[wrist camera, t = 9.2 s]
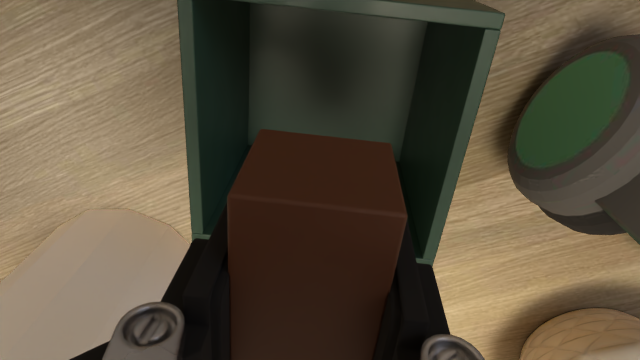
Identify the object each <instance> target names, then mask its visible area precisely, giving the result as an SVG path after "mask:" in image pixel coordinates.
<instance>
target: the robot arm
mask: <svg viewBox="0 0 640 360" xmlns="http://www.w3.org/2000/svg"><path fill="white" fill-rule="evenodd" d="M69 360H230V320H229V273H228V212H227V203H226V205H225V207H224V209H223V211H222V213H221V215H220V217H219V219H218V221H217V223H216V226H215V228H214V230H213V232H212V234H211V236H210V238H209V239H200V238H195V239H194V240H193V241H192V243H191V245H190V247H189V249H188V251H187V252H186V254H185V256H184V258H183V260H182V262H181V264H180V266H179V267H178V269H177V271H176V273H175V275H174V277H173V279H172V281H171V282H170V284H169V286H168V288H167V290H166V292H165V294H164V296H163V297H162V299H161V301H160V302H149V303H145V304H142V305H139V306H137V307H135V308H133V309H131V310H130V311H128V312H127V313H126V314H125V315H124V316H123V317H121V319H120V320H119V322H118V324H117V325H116V327H115V330H114V332H113V335H112V337H111V339H110V341H108V342H106V343H104V344H101V345H99V346H97V347H95V348H93V349H91V350H89V351H86V352H84V353H82V354H80V355H78V356H76V357H74V358H71V359H69ZM373 360H485V359H484V358H483V356H482V355H481V354H480V352H479V351H478V350H477V349H476V348H475V347H474V346H473V345H472V344H470V343H469V342H467V341H465V340H464V339H462V338H459V337H456V336H453V335H450V332H449V328H448V324H447V320H446V317H445V313H444V309H443V305H442V302H441V298H440V294H439V290H438V287H437V283H436V279H435V275H434V272H433V268H432V266H431V265H430V264H421V263H417V262H416V257H415V253H414V248H413V243H412V239H411V234H410V230H409V225H408V221H406V226H405V230H404V234H403V238H402V243H401V247H400V251H399V256H398V260H397V264H396V268H395V273H394V277H393V281H392V286H391V290H390V292H389V294H388V299H387V303H386V307H385V312H384V316H383V320H382V324H381V329H380V333H379V337H378V342H377V346H376V350H375V355H374V359H373Z"/></svg>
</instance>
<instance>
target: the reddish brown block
mask: <svg viewBox="0 0 640 360" xmlns="http://www.w3.org/2000/svg"><path fill="white" fill-rule="evenodd" d="M227 212H228V273H229V320H230V360H373V359H374V355H375V350H376V346H377V342H378V337H379V333H380V329H381V324H382V320H383V316H384V312H385V307H386V303H387V299H388V294H389V292H390V290H391V286H392V281H393V277H394V273H395V268H396V264H397V260H398V256H399V251H400V247H401V243H402V238H403V234H404V230H405V226H406V221H407V217H408V216H407V211H406V207H405V202H404V198H403V194H402V189H401V185H400V180H399V176H398V171H397V167H396V162H395V158H394V154H393V149H392V145H391V144H390V143H385V142H376V141H367V140H358V139H349V138H340V137H331V136H322V135H313V134H304V133H295V132H286V131H277V130H268V129H260V131H259V133H258V135H257V137H256V139H255V141H254V143H253V145H252V147H251V149H250V151H249V153H248V155H247V157H246V159H245V161H244V163H243V165H242V167H241V169H240V171H239V173H238V175H237V177H236V179H235V182H234V184H233V186H232V188H231V190H230V192H229V194H228V196H227Z"/></svg>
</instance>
